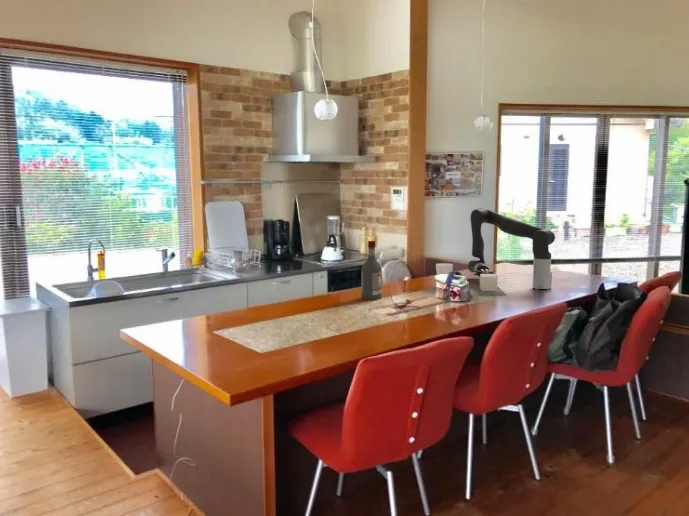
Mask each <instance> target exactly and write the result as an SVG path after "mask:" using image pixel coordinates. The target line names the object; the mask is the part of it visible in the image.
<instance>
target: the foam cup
mask: <svg viewBox="0 0 689 516" xmlns="http://www.w3.org/2000/svg"><path fill="white" fill-rule="evenodd" d="M435 269H436V276H437V275H439V274H445V273H449V272H452V273H453V269H454V264H452V263H436V264H435Z"/></svg>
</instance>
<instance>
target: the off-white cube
mask: <svg viewBox="0 0 689 516" xmlns="http://www.w3.org/2000/svg"><path fill="white" fill-rule="evenodd" d="M498 279H499V278H498V275H496V273H495V274H480V277H479V285H480V289H481V290H482V291H497V286H498V281H499V280H498Z"/></svg>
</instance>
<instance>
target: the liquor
mask: <svg viewBox="0 0 689 516" xmlns="http://www.w3.org/2000/svg"><path fill="white" fill-rule="evenodd" d="M367 251H368V252H367V254H368V255H367V256H368V257H367V260H366V261H365V262H364V263H363V265H362V266H361V270H360V271H361V273H360V274H361V278H360V279H361V289H360V290H361V291H360V292H361V295H360V296H361V299H363V300H365V299H368V300H367V301H377V299H378V300H380V299H382V294H383V293H382V290H383V289H382V286H383V285H382V279H383V278H382V277H383V276H382V275H383V269H382V266H381V264H380V263H379V262H378V261H377V259H376V241H375V240H368V241H367Z"/></svg>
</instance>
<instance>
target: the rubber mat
mask: <svg viewBox="0 0 689 516" xmlns="http://www.w3.org/2000/svg"><path fill="white" fill-rule="evenodd" d="M471 286H472V288H473V289H474V290H475V291H476V292H477V293H478V295H479V294H480V295H507V294H506V292H504V291H503V290H502V289H501V288H500V287H499V286H498V285H497V291H482V290H481V289H480V284H471ZM480 295H479V296H480Z"/></svg>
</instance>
